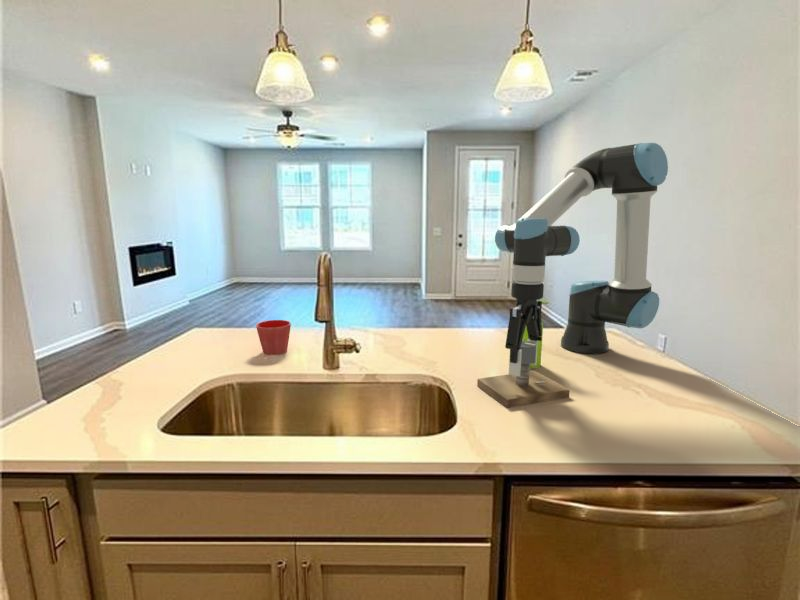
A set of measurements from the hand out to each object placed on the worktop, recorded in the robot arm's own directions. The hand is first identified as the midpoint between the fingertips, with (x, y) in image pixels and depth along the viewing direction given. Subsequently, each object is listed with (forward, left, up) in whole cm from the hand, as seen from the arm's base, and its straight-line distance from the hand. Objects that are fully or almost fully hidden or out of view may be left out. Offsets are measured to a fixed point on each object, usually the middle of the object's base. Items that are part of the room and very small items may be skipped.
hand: (522, 369), depth 108 cm
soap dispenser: (-15, -16, -6) cm, 23 cm away
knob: (0, 0, +2) cm, 2 cm away
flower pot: (+58, -56, -6) cm, 81 cm away
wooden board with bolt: (0, 0, -6) cm, 6 cm away
